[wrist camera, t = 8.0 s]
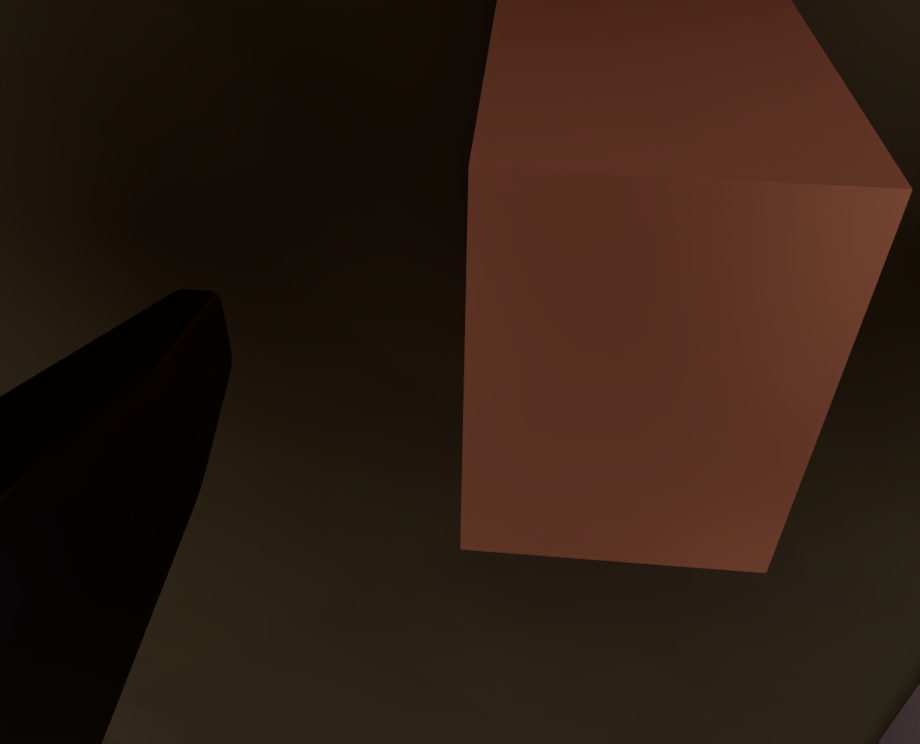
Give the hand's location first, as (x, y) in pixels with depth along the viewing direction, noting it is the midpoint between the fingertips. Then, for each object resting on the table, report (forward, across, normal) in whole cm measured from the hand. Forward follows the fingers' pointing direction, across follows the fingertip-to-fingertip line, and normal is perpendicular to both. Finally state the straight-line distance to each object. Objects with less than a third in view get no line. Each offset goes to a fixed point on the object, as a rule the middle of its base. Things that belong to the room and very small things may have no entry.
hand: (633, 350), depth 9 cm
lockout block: (+5, 0, 0) cm, 5 cm away
